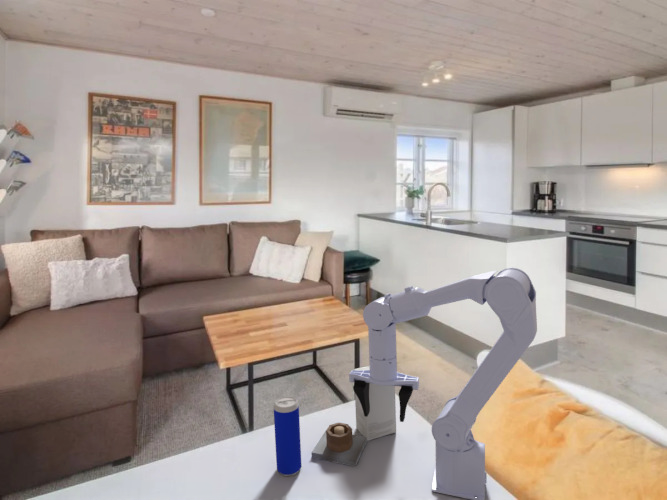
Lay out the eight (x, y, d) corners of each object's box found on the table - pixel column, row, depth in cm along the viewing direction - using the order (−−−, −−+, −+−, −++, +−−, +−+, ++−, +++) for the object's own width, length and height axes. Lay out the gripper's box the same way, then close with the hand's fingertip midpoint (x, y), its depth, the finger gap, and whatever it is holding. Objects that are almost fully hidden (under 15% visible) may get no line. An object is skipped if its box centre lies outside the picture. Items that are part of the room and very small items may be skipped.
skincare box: (384, 420, 102) (383, 361, 100) (397, 434, 96) (397, 371, 94) (354, 428, 99) (352, 367, 97) (366, 442, 93) (364, 378, 91)
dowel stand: (366, 441, 93) (366, 421, 92) (355, 466, 85) (354, 444, 84) (326, 434, 96) (325, 415, 96) (311, 457, 88) (310, 436, 87)
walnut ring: (354, 439, 92) (354, 425, 92) (347, 453, 87) (346, 438, 87) (332, 435, 94) (332, 421, 93) (324, 449, 89) (323, 434, 88)
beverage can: (302, 460, 87) (299, 395, 85) (301, 476, 82) (297, 407, 80) (278, 462, 87) (274, 396, 85) (275, 478, 82) (271, 408, 80)
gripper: (420, 351, 85) (421, 412, 87) (355, 345, 90) (356, 403, 92) (415, 364, 78) (416, 429, 80) (345, 357, 83) (347, 419, 85)
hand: (384, 416), depth 85 cm, fingers open, 7 cm apart
